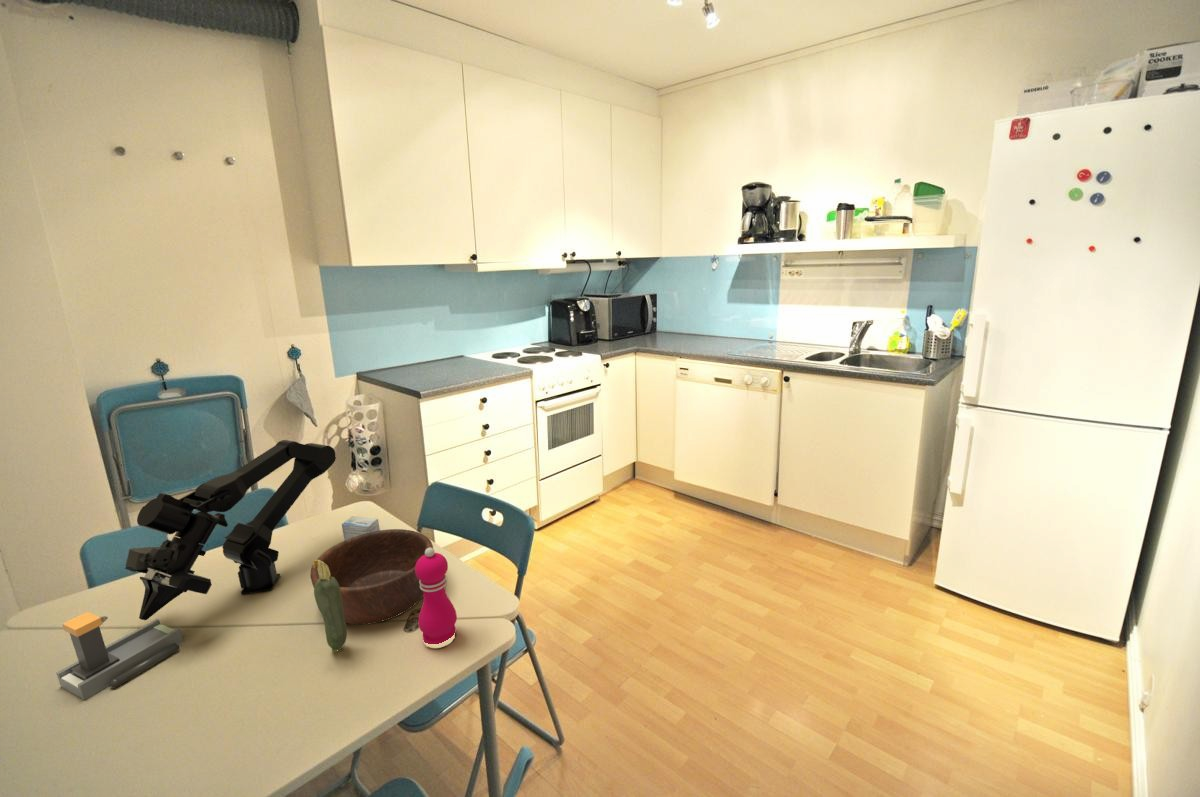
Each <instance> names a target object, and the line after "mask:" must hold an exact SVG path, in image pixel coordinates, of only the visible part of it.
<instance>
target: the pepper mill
mask: <svg viewBox="0 0 1200 797" xmlns="http://www.w3.org/2000/svg"><path fill="white" fill-rule="evenodd" d="M448 569H449V564H448V561H447V558H446V557H445V556H444V555H443V554H442V553H439V552H435V550H434V547H433V548H427V549H426V550H425V555H423V556H422V557H420V558H419V560H418V561H417V563H416V565H415V574H416V576H417V578H418V579H419V580H420V581H419V583H420V589H421V590H423V594H424V595H423V600H422V602H423V603H422V606H421V608H420V612H419V615H418V629H419V630H420V631H421V632H422V641H423V640H424V642H425V643H428V644H439V643H442V642H444V641H446V640H448V639H449V638H451V637H452V636H453V635H454V633H455V630H456V625H455V624H456V622H457V621H458V620H457V619H458V616H457V611H456V609H455V607H454V604H453V603H452V601H451V600H450V599H449V596H448V594H447V592H446V585H447V583H448V580H447V575H446V574H447V572H448ZM456 631H457V630H456ZM424 642H423V643H424Z"/></svg>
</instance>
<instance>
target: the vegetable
mask: <svg viewBox="0 0 1200 797" xmlns="http://www.w3.org/2000/svg"><path fill="white" fill-rule="evenodd" d="M316 565H317V566H318V575H319V577H320V579H319V580H318V581H317V582H316V584H315V587H313V595H314V599H315V603H316V606H317V608H318V611H319V613H320V615H321V617H322V620H323V623H324V631H325V636H326V643H327V645H328V646H329V648H330V649H331V651H332V652H338V651H340V650H341V648H342V647H344V645H345V643H346V641H347V635H348V633H347V632H348V630H347V629H348V628H347V623H345V617H344V610H343V603H342V596H341V591H340V587H339V584H338V582H337V580H336V579H335V578H333V577H331V576H330V575H331V574H330V571H329V567H328V566H327V565H326V564H325V563H324V562H322V561H321V560H317V559H315V560H314V561H313V562H312V566H314V567H313V568H315V566H316ZM337 650H338V651H337Z"/></svg>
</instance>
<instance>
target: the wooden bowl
mask: <svg viewBox="0 0 1200 797" xmlns="http://www.w3.org/2000/svg"><path fill="white" fill-rule="evenodd" d="M427 548H433V549H434V545H433V542H432V541H431V539H430V538H429V537H428V536H426V535H425V534H423V533H421V532H418V531H415V530H411V529H399V528H396V529H395V528H394V529H393V528H392V529H390V528H389V529H382V530H381V529H380V531H374V532H369V533H365V534H362V535H358V536H355V537H352V538H350V539H347V540H345V541H344V540H343V541H341V542H339V543H337V544H334V545H333V546H331V547H330V548H329V549H327V550H325V551H324V552H323V553H322V554H320V556H318V557H317V559H316V560H321V561H322V562H324V563H325V564H326V565H327V566H328V567H329V571H330V574H331V575H330V576H331V577H333V578H335V579H336V580H337V582H338V584H339V587H340V591H341V596H342V603H343V610H344V617H345V623H346V624H351V625H369V624H368V623H371V624H375V623H374V622H376V623H380V622H379V621H381V622H383V621H382V620H384V621H386V619H388V618H390V619H392V618H391V617H393V618H395V617H397V616H396V615H398V614H400V613H402V612H403V613H405V612H407V611H408V610H410V609H411V608H413V607H414V606H413V605H414V604H415V603H416V604H417V603H418V602H419V601H421V599H422V598H423V597H424V594H423V590H421V589H420V583H419V581H420V580H419V579H418V578H417V576H416V574H415V565H416V563H417V561H418V560H419V558H420V557H422V556H423V555H425V550H426V549H427ZM313 567H314V566H313V565H312V566H311V569H310V581H311V583H312V586H313V588H314V587H315V584H316V582H317V581H318V580H319V579H320V577H319V575H318V566H317V565H316V566H315V568H313ZM416 604H415V605H416ZM410 607H411V608H410ZM409 608H410V609H409ZM406 610H407V611H406ZM404 611H405V612H404ZM403 613H402V614H403ZM400 615H401V614H400ZM394 616H395V617H394ZM398 616H399V615H398ZM388 620H389V619H388Z"/></svg>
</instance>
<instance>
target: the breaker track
mask: <svg viewBox="0 0 1200 797" xmlns="http://www.w3.org/2000/svg"><path fill="white" fill-rule="evenodd" d="M181 629H182V628H180V627H177V628H175V629H174V628H171V627H168V626H166V625H164V624H161V621H160V619H158V618H156V619H155V620H153V621H150V622H149V623H147V624H145V625H143V626H141V627H139V628H137V629H136V630H134V631H132V632H129V633H128V634H127V635H125V636H122V637H121V638H119V639H117V640H115V641H113V642H112V643H109V644H108V645H105V647H106V650H107V653H109V654H111V655H113V656H115V657H118V658H119V660H120V661H118V662H117V663H115V664H113V665H111V666H109V667H108V668H106V669H104V670H102V671H101V672H99V673H97V674H95V675H94V676H92V677H90V678H88V679H86V680H84V679H82V678H80V677H78V676H77V675H75V674H73V673H72V672H71V669H72V668H74V667H76V666H78V665H79V661H78V660H77V661H76V662H74V663H72V664H70V665H69V666H66V667H65V668H63V669H61V670H58V671H57V672H56V675H57V676H56V677H57V679H58V683H59V685H60V687H61V688H62V689H64V690H66V691H67V692H69V693H71V694H73V695H75V696H77V697H78V698H79V699H82V700H83V701H86V700H88V699H90V698H91V697H93V696H94V695H96V694H98V693H99V692H101V691H103V690H104V689H106V688H108V687H110V688H112V689H113V688H117V687H120V686H121V685H123V684H125V683H126V682H129V681H130V680H131V679H133V678H134V677H136V676H138V675H139V674H142V673H143V672H145V671H146V670H148V669H149V668H152V667H153V666H155V665H156V664H157V663H159V662H161V661H163V660H164V659H166V658H168V657H170V656H171V655H173V654H174V653H177V652H178V651H179V650H180V647H179V645H180V643H181V644H182V643H184V642H185V641H184V637H183V633H182V630H181ZM92 695H93V696H92Z"/></svg>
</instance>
